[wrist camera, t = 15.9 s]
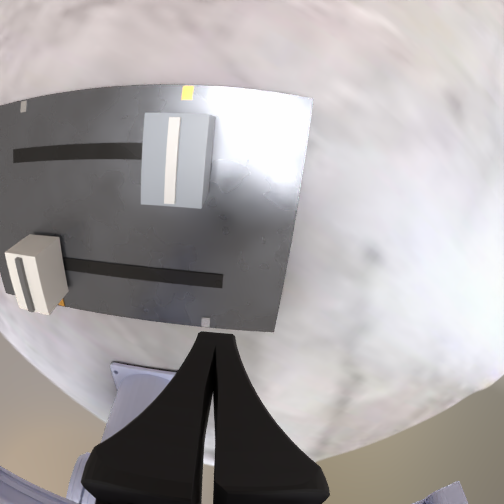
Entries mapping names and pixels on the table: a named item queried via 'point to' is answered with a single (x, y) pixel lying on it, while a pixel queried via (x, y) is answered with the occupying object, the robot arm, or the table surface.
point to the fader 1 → (37, 273)
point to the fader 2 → (176, 159)
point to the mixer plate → (154, 216)
